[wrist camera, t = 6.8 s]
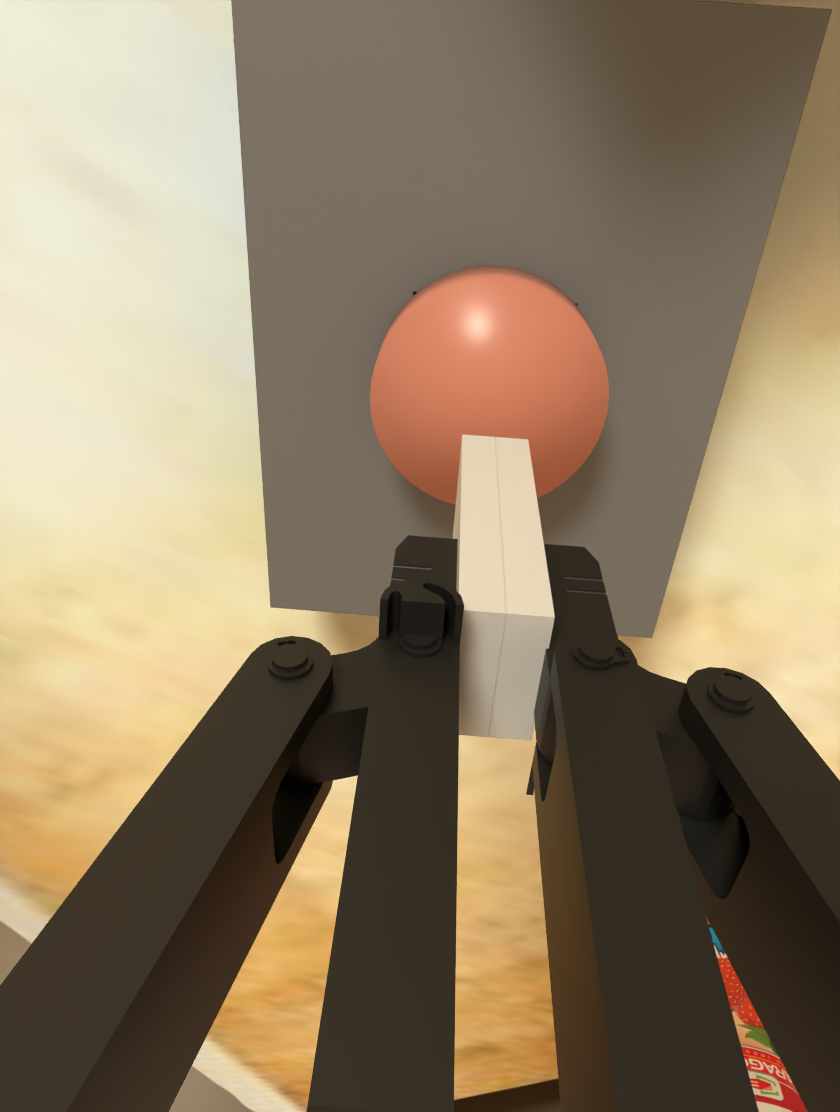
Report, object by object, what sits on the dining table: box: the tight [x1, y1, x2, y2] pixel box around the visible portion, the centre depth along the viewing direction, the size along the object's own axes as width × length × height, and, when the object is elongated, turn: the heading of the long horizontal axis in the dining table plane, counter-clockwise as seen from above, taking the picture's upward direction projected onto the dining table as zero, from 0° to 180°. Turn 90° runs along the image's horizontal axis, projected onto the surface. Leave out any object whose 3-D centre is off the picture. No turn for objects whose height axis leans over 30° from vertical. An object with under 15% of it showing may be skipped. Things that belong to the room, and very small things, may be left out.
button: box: [370, 266, 609, 505], centre depth 26 cm, size 7×7×8 cm
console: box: [231, 0, 832, 638], centre depth 27 cm, size 15×20×6 cm
